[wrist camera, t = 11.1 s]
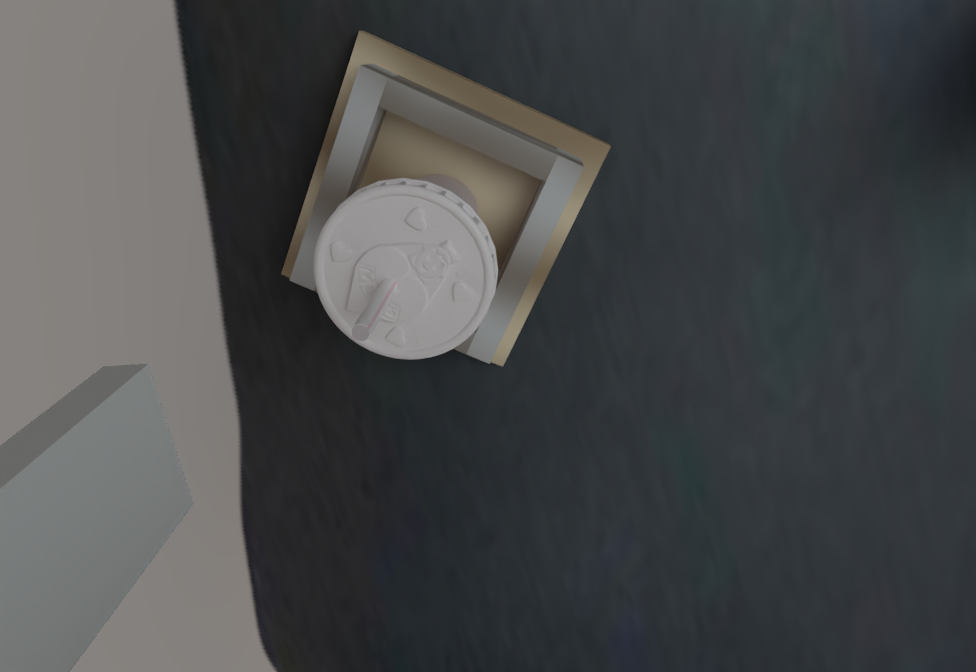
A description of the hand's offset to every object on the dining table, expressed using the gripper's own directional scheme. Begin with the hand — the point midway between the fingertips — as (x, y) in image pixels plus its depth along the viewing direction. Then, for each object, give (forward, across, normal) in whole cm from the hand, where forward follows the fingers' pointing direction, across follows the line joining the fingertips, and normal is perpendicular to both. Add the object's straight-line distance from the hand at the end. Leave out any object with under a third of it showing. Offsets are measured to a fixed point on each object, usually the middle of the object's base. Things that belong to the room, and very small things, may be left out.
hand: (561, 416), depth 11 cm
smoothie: (+23, -5, -2) cm, 23 cm away
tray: (+23, -5, -2) cm, 24 cm away
